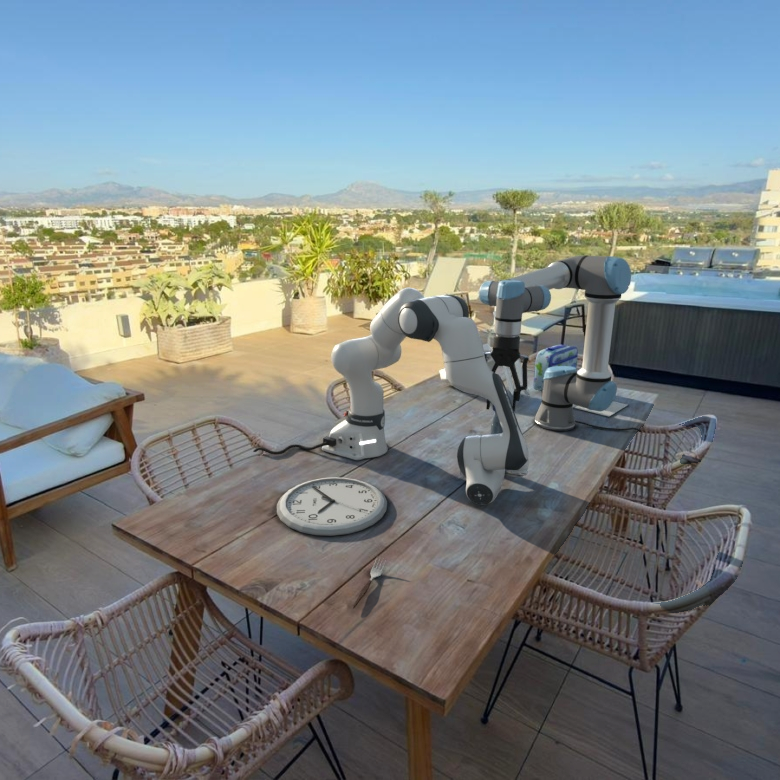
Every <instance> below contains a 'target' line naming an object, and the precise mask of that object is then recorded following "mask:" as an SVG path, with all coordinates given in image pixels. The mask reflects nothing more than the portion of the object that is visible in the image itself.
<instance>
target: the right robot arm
mask: <svg viewBox="0 0 780 780" xmlns="http://www.w3.org/2000/svg"><path fill="white" fill-rule="evenodd" d="M631 281H632V271H631V267H630V264H629V263H628V261H627V260H626V259H624V258H623V257H617V256H611V255H610V256H608V255H587V254H586V255H585V254H582V255H575V256H571V257H567V258H563V259H560V260H557V261H553V262H551V263H550V264H549V265H548V266H547V267H544V268H540V269H537V270H533V271H531V272H527V273H524V274H519V275H517V276H514V277H510V278H507V279H504V280H499V281H494V280H487V281H484V282H483V283H482V284H481V285H480V287H479V290H478V298H479V300H480V303H482V304H484V305H486V306H487V305H488V306H489V307H495V311H496V316H495V318H494V325H493V326H494V328H493V333H494V335H493V341H492V351H491V352H488V353H486V352H484V354H485V359H486V362H487V361H488V360H489V358H490V356H492V358H493V359H494V361H495V364H494V366H493V369H492V372H493V373H496V372H497V370H498V368H499V367H502V366H506V367H508V368H509V371H510V374H511V378H512V381H513V384H514V388H515V389H514V393H513V395H512V403H511V404H512V407H513V410H514V413H515V411H516V403H517V402H520V400H521V392H522V391H523V390H526V389H527V387H528V362H529V360H530V357H529V355H523V354H521V352H520V343H521V337H520V335H521V334H522V333H521V331H522V321H523V313H531V312H536V313H537V312H539V311H543V310H545V309H547V308H548V307H549V306H550V304H551V301H552V293H551V291H550V290H553V289H555V290H562V289H576V290H582V291H584V298H585V299H586V300H587V302H588V305H587V315H586V316H587V317H586V325H585V335H584V347H583V353H582V365H581V368H579V369H578V368H577V367H576V368H575V367H572V366H554V367H550V368H547V369H546V371H545V374H544V378H543V379H544V382H543V391H541V392H542V394H541V402H540V405H539V407H538V410H537V411H536V413H535V417H534V424H535V425H536V426H537V427H539V428H542V429H544V430H549V431H556V432H567V431H572V430H574V429H575V428H576V423H577V424H580V425H584V426H588V427H591V428H595V429H600V430H609V431H631V430H634V431H637V432H639V433H640V434H641V433H642V434H643V431H642V430H641V429H639V428H637V427H626V428H625V427H624V428H617V427H616V428H615V427H605V426H598V425H594V424H591V423H588V422H587V423H586V422H583V421H579V420H577V419H576V418H575V417H576V416H575V413H574V407H573V405H574V406H581V407H584V408H587V409H589V410H595V411H604V410H606V409H607V408H608V407H609V406H610V405H611V403H612V402H613V401H614V400H615V398H616V395H617V392H618V385H617V383H616V382H615V381H613V380H612V373H611V372H610V371H609V360H610V353H611V352H610V351H611V343H612V335H613V327H614V319H615V310H616V303H617V302H618V301H619V300H621V298H622V295H623V294H626V293H627V292H628V290H629V287H630V285H631ZM518 359H519V360H520V364H522V365H521V368H522V377H523V385H521V382H520V379H519V376H518V373H517V369H516V366H515V362H516V361H517V360H518ZM498 366H499V367H498ZM490 408H491V401H489V400H488V399H486V407H485V409H486V410H490Z"/></svg>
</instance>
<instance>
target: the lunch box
mask: <svg viewBox="0 0 780 780" xmlns="http://www.w3.org/2000/svg"><path fill="white" fill-rule="evenodd" d="M578 353H579V352H578V347H577V346H571V345H565V344H556V345H553V346H549V347H546V348H544V349H541V350H539V351H538V353H537V354H536V357H535V361H534V371H533V372H534V373H533V389H534V390H535V391H539V392H542V391H543V382H544V379H543V378H544V374H545V371H546V369H547V368H550V367H554V366H572V367H575V368H577V366H578V356H579V354H578Z"/></svg>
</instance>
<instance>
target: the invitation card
mask: <svg viewBox="0 0 780 780" xmlns="http://www.w3.org/2000/svg"><path fill="white" fill-rule="evenodd" d="M628 406H629V404H627V403H623V402H618V401H614V400H613V402H612V403H611V405H610V406H609V407H608V408H607V409H606V410H604V411H595V410H589V409H587V408H584V407H581V406H577V405H575V406H574V407H573V409H575V410H581V411H584V412H587V413H593V414H596V415H600V416H604V417H608V418H609V417H611V416H613V415H614V414H616V413H617V412H619V411H621V410H623V409H624V408H626V407H628Z"/></svg>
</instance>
